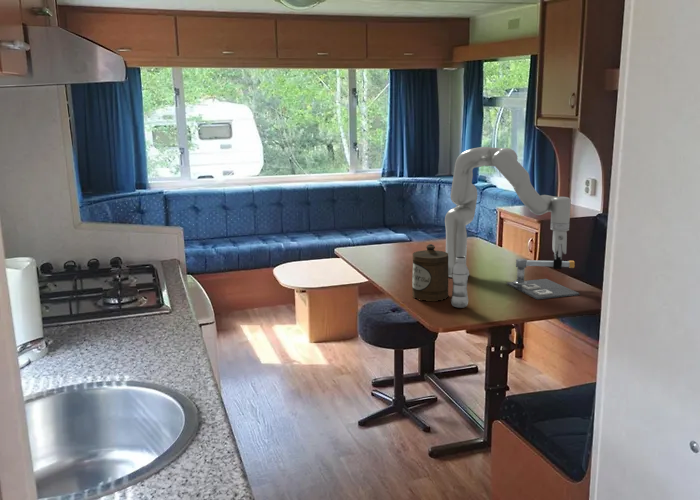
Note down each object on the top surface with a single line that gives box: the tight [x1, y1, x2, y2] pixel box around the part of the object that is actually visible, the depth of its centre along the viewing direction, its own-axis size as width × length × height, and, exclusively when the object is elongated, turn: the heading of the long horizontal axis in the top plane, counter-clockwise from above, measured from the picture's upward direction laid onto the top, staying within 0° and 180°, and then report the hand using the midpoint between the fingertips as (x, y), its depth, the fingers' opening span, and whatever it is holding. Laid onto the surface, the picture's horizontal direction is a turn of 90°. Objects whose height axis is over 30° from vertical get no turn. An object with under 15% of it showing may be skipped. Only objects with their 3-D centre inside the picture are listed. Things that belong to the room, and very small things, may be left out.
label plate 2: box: [533, 289, 553, 295], centre depth 265 cm, size 6×5×1 cm
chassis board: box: [506, 278, 581, 300], centre depth 273 cm, size 20×24×1 cm
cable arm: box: [515, 258, 576, 269], centre depth 276 cm, size 24×4×3 cm, turn 81°
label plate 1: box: [522, 284, 541, 289], centre depth 273 cm, size 6×5×1 cm
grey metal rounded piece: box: [512, 267, 528, 285], centre depth 279 cm, size 6×6×7 cm
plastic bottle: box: [450, 256, 470, 309], centre depth 248 cm, size 6×7×20 cm
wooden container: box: [411, 243, 449, 302], centre depth 263 cm, size 15×15×22 cm
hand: (557, 268), depth 273 cm, fingers closed
